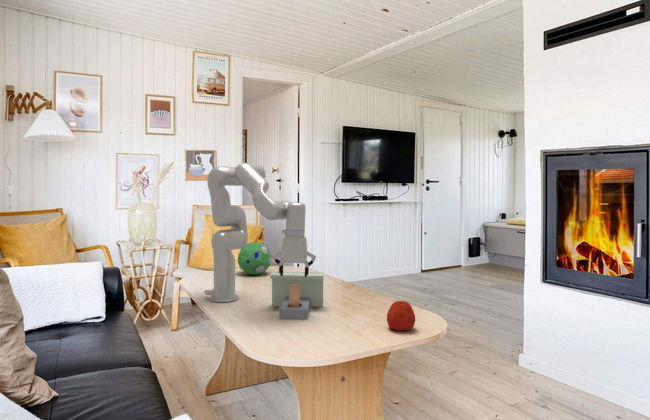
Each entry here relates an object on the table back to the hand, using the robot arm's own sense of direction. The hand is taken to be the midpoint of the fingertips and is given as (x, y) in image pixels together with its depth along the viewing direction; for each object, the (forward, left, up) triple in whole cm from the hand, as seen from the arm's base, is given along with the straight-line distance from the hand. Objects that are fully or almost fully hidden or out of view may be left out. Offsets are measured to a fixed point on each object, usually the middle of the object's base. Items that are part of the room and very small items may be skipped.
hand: (293, 276), depth 175 cm
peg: (0, 0, -16) cm, 16 cm away
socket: (+1, +3, -16) cm, 16 cm away
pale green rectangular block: (+1, +10, -16) cm, 19 cm away
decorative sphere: (-30, +79, -16) cm, 86 cm away
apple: (+41, -15, -16) cm, 46 cm away
